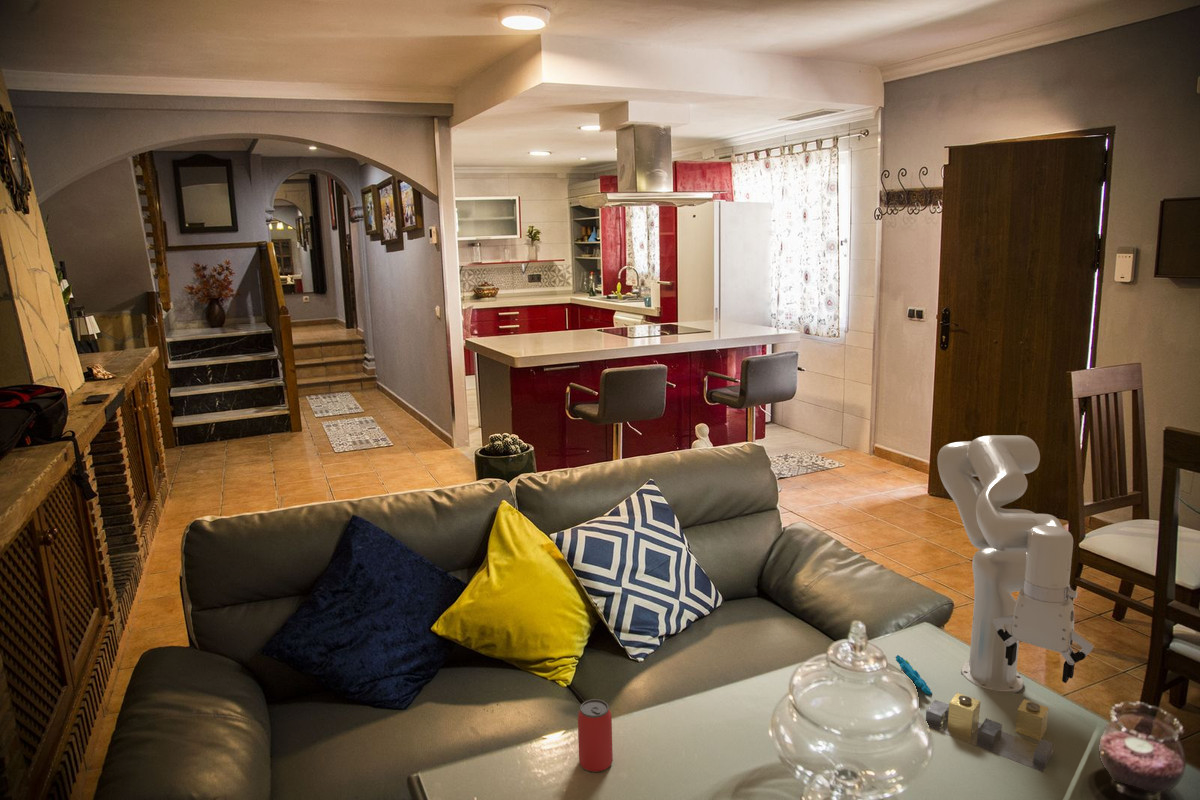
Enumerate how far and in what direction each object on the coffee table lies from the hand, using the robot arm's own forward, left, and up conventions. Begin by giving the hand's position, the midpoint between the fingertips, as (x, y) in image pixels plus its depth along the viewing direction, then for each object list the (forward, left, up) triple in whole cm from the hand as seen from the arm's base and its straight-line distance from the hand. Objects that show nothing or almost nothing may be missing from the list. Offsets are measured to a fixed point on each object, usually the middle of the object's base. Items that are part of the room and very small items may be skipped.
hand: (1038, 671), depth 154 cm
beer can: (+63, -61, -15) cm, 89 cm away
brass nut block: (0, 0, -15) cm, 15 cm away
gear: (-1, -25, -15) cm, 29 cm away
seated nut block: (+8, -11, -13) cm, 19 cm away
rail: (+8, -6, -14) cm, 18 cm away
